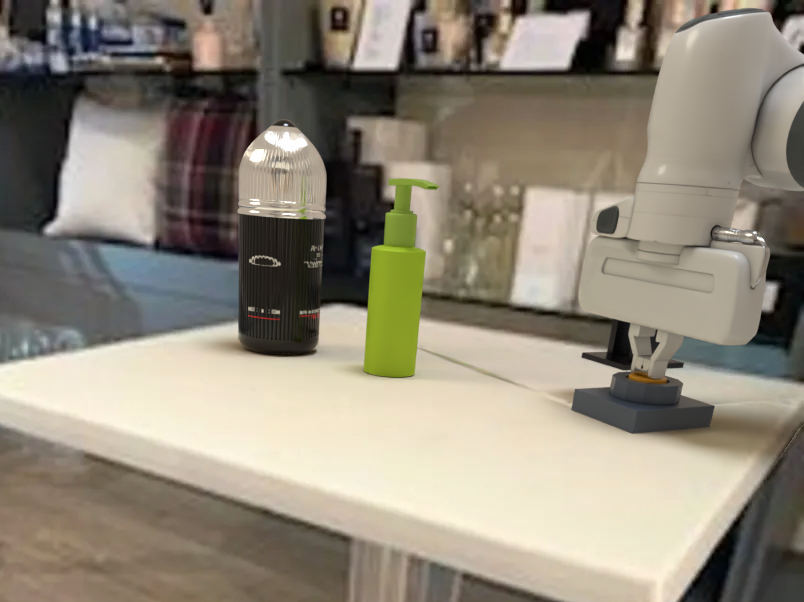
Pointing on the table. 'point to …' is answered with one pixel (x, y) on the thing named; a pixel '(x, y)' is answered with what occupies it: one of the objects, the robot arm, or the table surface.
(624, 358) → the bracket
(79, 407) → the table surface
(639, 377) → the button
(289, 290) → the spray bottle
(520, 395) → the table surface
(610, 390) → the button housing
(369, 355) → the soap dispenser
